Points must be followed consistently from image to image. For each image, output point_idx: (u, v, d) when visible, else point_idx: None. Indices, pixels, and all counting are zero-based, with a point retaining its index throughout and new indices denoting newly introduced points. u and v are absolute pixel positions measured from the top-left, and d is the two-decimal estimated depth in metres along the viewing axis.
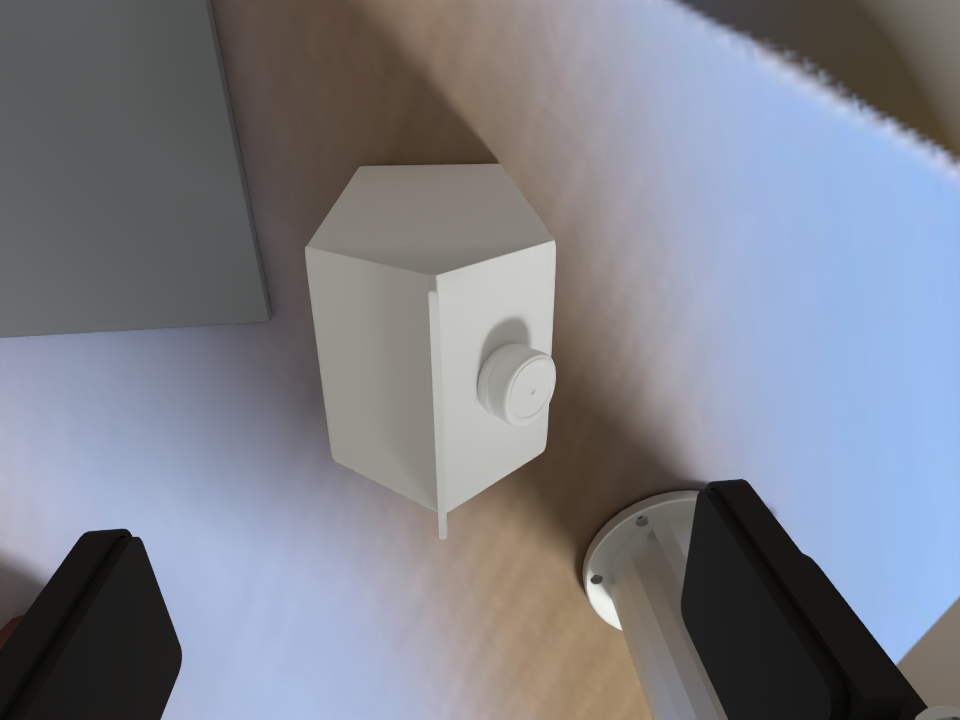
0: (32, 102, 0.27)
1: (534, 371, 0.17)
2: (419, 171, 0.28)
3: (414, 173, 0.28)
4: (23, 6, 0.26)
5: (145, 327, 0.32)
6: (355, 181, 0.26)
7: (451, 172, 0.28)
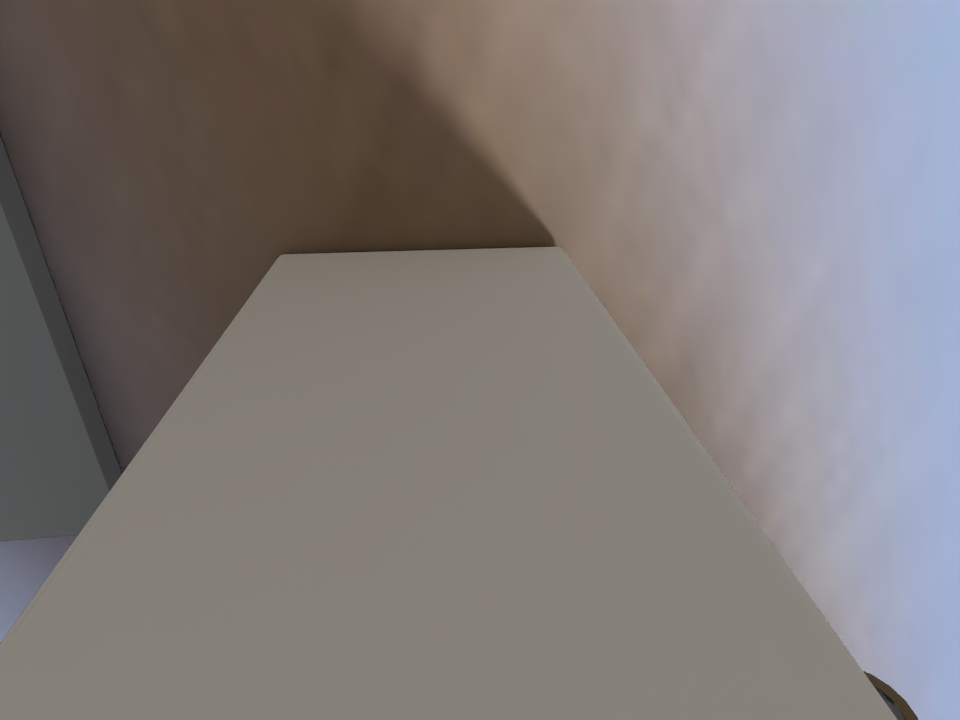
0: None
1: None
2: (398, 278, 0.13)
3: (386, 286, 0.13)
4: None
5: None
6: (243, 325, 0.11)
7: (466, 282, 0.13)
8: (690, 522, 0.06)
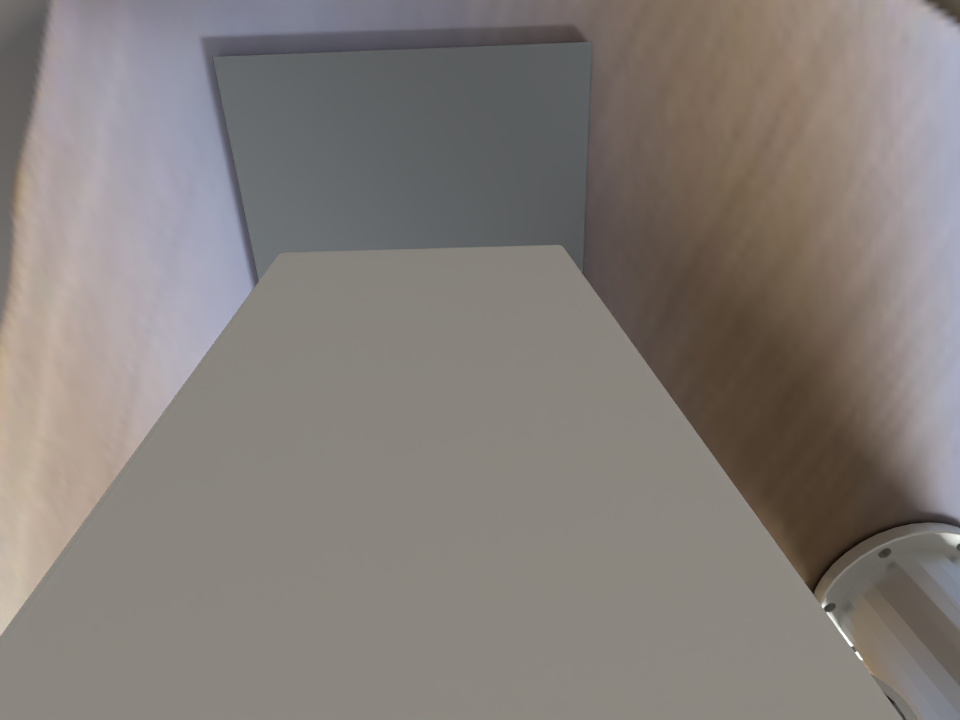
0: (407, 169, 0.28)
1: None
2: (398, 276, 0.13)
3: (386, 284, 0.13)
4: (420, 80, 0.27)
5: None
6: (242, 323, 0.11)
7: (466, 280, 0.13)
8: (692, 520, 0.06)
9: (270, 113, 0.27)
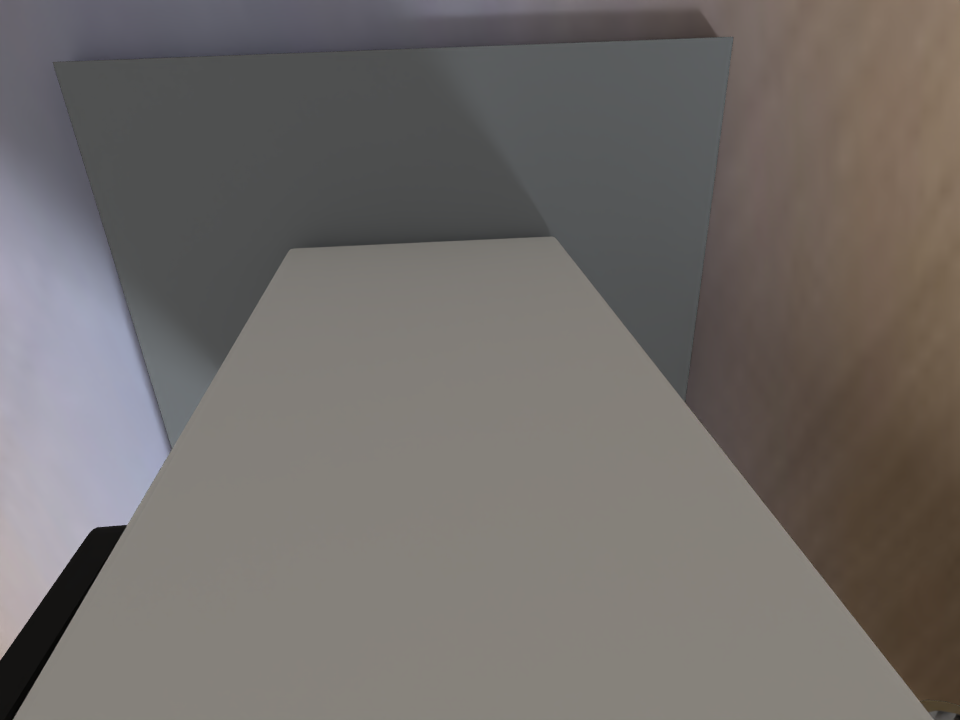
0: None
1: None
2: (404, 267, 0.14)
3: (394, 276, 0.14)
4: (429, 104, 0.15)
5: None
6: (265, 313, 0.12)
7: (468, 270, 0.14)
8: (677, 466, 0.07)
9: (165, 160, 0.15)
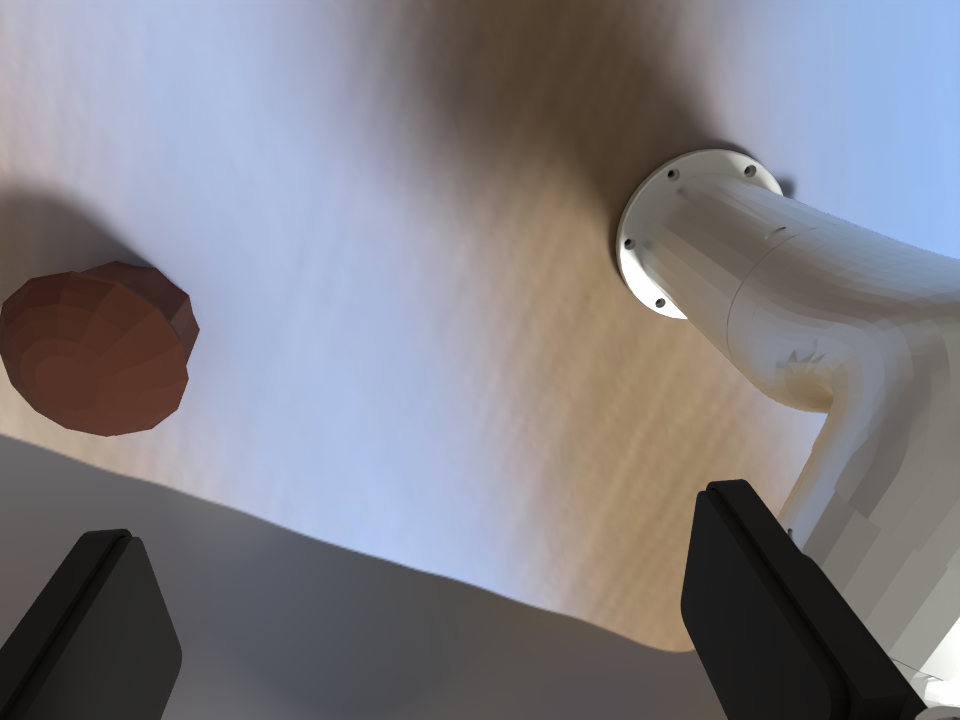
0: None
1: None
2: None
3: None
4: None
5: None
6: None
7: None
8: None
9: None
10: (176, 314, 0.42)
